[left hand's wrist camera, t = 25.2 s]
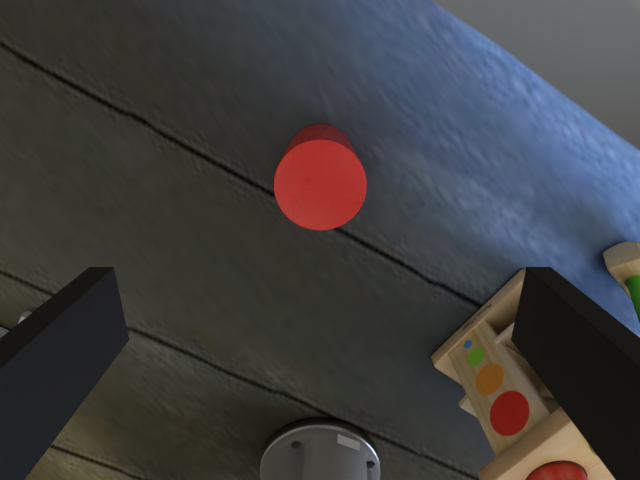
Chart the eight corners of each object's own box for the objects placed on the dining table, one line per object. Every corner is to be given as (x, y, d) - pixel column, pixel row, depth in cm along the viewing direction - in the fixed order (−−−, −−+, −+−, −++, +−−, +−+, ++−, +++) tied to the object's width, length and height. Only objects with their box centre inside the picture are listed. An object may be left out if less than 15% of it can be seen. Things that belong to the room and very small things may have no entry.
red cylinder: (324, 206, 38) (325, 247, 29) (272, 163, 37) (255, 192, 27) (368, 155, 37) (386, 181, 27) (315, 109, 35) (314, 118, 25)
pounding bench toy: (588, 202, 38) (796, 295, 21) (676, 280, 41) (917, 414, 25) (427, 357, 45) (491, 518, 28) (513, 414, 48) (616, 589, 31)
